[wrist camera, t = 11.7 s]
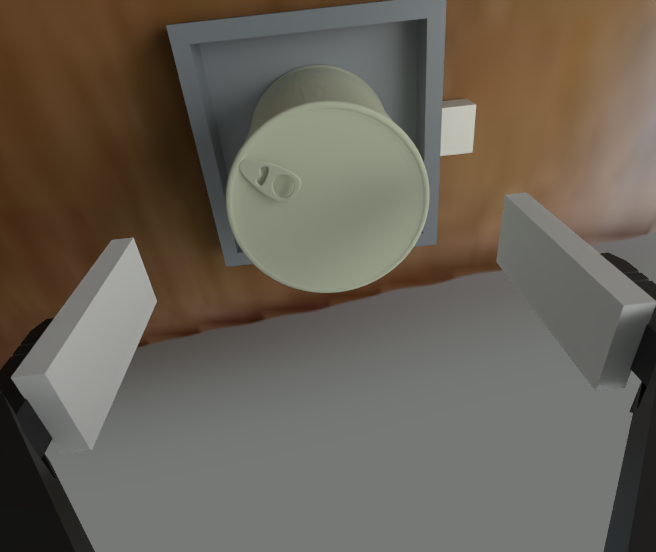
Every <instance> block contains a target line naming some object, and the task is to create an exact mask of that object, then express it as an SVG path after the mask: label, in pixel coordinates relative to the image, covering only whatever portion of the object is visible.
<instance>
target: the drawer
mask: <svg viewBox="0 0 656 552" xmlns="http://www.w3.org/2000/svg"><path fill="white" fill-rule="evenodd" d="M445 22H446V0H385V1H376V2H367V3H358V4H349V5H340V6H330V7H321V8H312V9H303V10H294V11H285V12H276V13H267V14H258V15H249V16H240V17H231V18H222V19H212V20H203V21H194V22H185V23H177V24H171V25H166V27H167V31H168V35H169V39H170V43H171V47H172V51H173V55H174V59H175V64H176V68H177V72H178V76H179V80H180V84H181V88H182V92H183V96H184V100H185V104H186V108H187V112H188V116H189V120H190V124H191V128H192V132H193V136H194V140H195V144H196V148H197V152H198V156H199V160H200V164H201V168H202V172H203V176H204V180H205V184H206V188H207V192H208V196H209V200H210V204H211V208H212V212H213V216H214V220H215V224H216V228H217V232H218V236H219V240H220V244H221V248H222V252H223V256H224V260H225V264H226V267H228V266H238V265H247V264H253V263H252V262H251V261H250V260H249V259H248V258H247V256H246V255H245V254H244V252H243V251H242V250H241V248H240V246H239V245H238V243H237V241H236V239H235V237H234V235H233V233H232V230H231V227H230V224H229V221H228V216H227V211H226V187H227V181H228V176H229V173H230V169H231V166H232V164H233V161H234V159H235V157H236V155H237V153H238V151H239V150H240V148H241V147H242V145H243V144H244V142H245V140H246V138H247V136H248V133H249V131H250V126H251V120H252V116H253V113H254V110H255V108H256V106H257V104H258V102H259V100H260V98H261V97H262V95H263V94H264V93H265V91H266V90H267V89H268V88H269V87H270V85H272V84H273V83H274V82H275V81H276V80H277V79H279V78H280V77H282V76H283V75H285V74H286V73H288V72H290V71H293V70H295V69H298V68H302V67H305V66H312V65H328V66H334V67H338V68H341V69H344V70H347V71H349V72H351V73H353V74H355V75H356V76H358V77H359V78H361V79H362V80H363V81H365V82H366V83H367V84H368V85H369V86H370V87H371V88H372V90H373V91H374V92H375V93H376V95H377V96H378V98H379V99H380V101H381V103H382V105H383V107H384V110H385V112H386V113H387V114H388V116H389V117H390V118H391V119H392V121H393V122H394V123H395V124H397V125H398V126H399V127H400V128H401V129H402V130H403V131H404V132H405V133H406V134H407V135H408V136H409V138H410V139H411V140H412V142H413V143H414V145H415V146H416V148H417V149H418V151H419V153H420V155H421V157H422V160H423V162H424V165H425V168H426V171H427V176H428V181H429V209H428V214H427V218H426V222H425V225H424V228H423V230H422V232H421V234H420V237H419V239H418V240H417V242H416V244H415V245H414V247H416V246H425V245H435V244H437V224H438V199H439V174H440V156H444V155H454V154H463V153H472V152H473V139H474V126H475V113H476V104H474V103H473V102H471V101H469V100H468V99H457V100H448V101H442V98H443V73H444V47H445Z"/></svg>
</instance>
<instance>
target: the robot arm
mask: <svg viewBox="0 0 656 552" xmlns="http://www.w3.org/2000/svg"><path fill="white" fill-rule="evenodd" d="M496 262H497V263H498V265H499V266H500V267H501V268H502V270H503V271H504V272H505V273H506V275H507V276H508V278H509V279H510V280H511V281H512V283H513V284H514V285H515V287H516V288H517V289H518V290H519V292H520V293H521V294H522V296H523V297H524V298H525V300H526V301H527V302H528V304H529V305H530V306H531V307H532V309H533V310H534V311H535V313H536V314H537V315H538V317H539V318H540V319H541V320H542V322H543V323H544V324H545V326H546V327H547V328H548V330H550V332H551V333H552V335H553V336H554V337H555V339H556V340H557V341H558V342H559V344H560V345H561V346H562V348H563V349H564V350H565V352H566V353H567V354H568V356H569V357H570V358H571V359H572V361H573V362H574V363H575V365H576V366H577V367H578V368H579V370H580V371H581V372H582V374H583V375H584V376H585V377H586V379H587V380H588V381H589V383H590V384H591V386H592V387H593V388H594V389H595V391H599V390H608V389H617V388H625V385H626V383H627V380H628V378H629V375H630V372H631V370H632V371H633V372H634V373H635V374H636V375H637V376H638V378H639V379H640V380H641V381H642V382H641V385H640V387H639V389H638V392H637V394H636V397H635V400H634V402H633V404H632V407H631V409H630V412H632V413H633V416H632V421H631V425H630V430H629V435H628V439H627V445H626V449H625V454H624V458H623V464H622V468H621V473H620V477H619V482H618V487H617V491H616V496H615V501H614V505H613V510H612V515H611V520H610V524H609V529H608V534H607V539H606V543H605V548H604V552H656V284H655V283H653V282H652V281H649V279H648V278H647V277H646V276H645V275H643V274H642V273H639V272H638V270H637V269H636V268H634V267H633V266H632V265H631V264H630V263H628V262H627V261H625V260H623V259H621V258H619V257H617V256H614V255H612V254H610V253H602V254H599V253H598V252H597V251H596V250H595V249H593V248H592V247H591V246H590V245H589V244H587V243H586V242H585V241H584V240H583V239H582V238H580V237H579V236H578V235H577V234H576V233H574V232H573V231H572V230H571V229H570V228H568V227H567V226H566V225H565V224H564V223H562V222H561V221H560V220H559V219H558V218H556V217H555V216H554V215H553V214H552V213H551V212H549V211H548V210H547V209H546V208H545V207H543V206H542V205H541V204H540V203H539V202H537V201H536V200H535V199H534V198H533V197H531V196H530V195H529V194H528V193H527V192H526V193H517V194H508V195H505V199H504V207H503V215H502V223H501V230H500V238H499V246H498V254H497V261H496ZM156 302H157V300H156V297H155V294H154V292H153V289H152V286H151V284H150V281H149V278H148V275H147V273H146V270H145V267H144V265H143V262H142V259H141V256H140V254H139V251H138V248H137V246H136V243H135V240H134V238H125V239H116V240H111V242H110V243H109V244H108V246H107V247H106V248H105V250H104V251H103V252H102V254H101V255H100V257H99V258H98V259H97V261H96V262H95V263H94V265H93V266H92V267H91V269H90V270H89V272H88V273H87V274H86V276H85V277H84V278H83V280H82V281H81V282H80V284H79V285H78V287H77V288H76V289H75V291H74V292H73V293H72V295H71V296H70V297H69V299H68V300H67V301H66V303H65V304H64V306H63V307H62V308H61V310H60V311H59V312H58V314H57V315H56V316H55V318H52V319H46V320H45V321H43V322H42V323H41V324H39V325H38V326H37V327H36V328H34V329H33V330H32V331H30V333H29V334H28V335H27V337H26V338H25V339H24V341H23V342H22V343H21V346H19V347H18V348H17V350H16V351H15V352H14V353H13V357H10V359H9V360H8V361H7V362H6V364H5V365H4V366H3V368H2V369H1V370H0V552H95V551H94V549H93V547H92V545H91V543H90V541H89V539H88V537H87V535H86V533H85V531H84V529H83V527H82V525H81V523H80V521H79V519H78V517H77V515H76V513H75V511H74V509H73V507H72V505H71V503H70V501H69V499H68V497H67V495H66V493H65V491H64V489H63V487H62V485H61V483H60V481H59V479H58V477H57V475H56V473H55V471H54V469H53V467H52V465H51V463H50V461H49V459H48V458H47V457H46V455H45V454H44V453H45V451H46V450H47V447H48V446H49V444H50V442H51V440H52V441H53V442H54V444H55V445H56V447H57V448H58V450H59V451H60V453H61V454H70V453H78V452H87V451H91V450H92V448H93V446H94V444H95V441H96V439H97V437H98V435H99V432H100V430H101V428H102V425H103V423H104V421H105V419H106V416H107V414H108V412H109V409H110V407H111V405H112V402H113V400H114V398H115V396H116V393H117V391H118V389H119V387H120V384H121V382H122V380H123V378H124V375H125V373H126V371H127V368H128V366H129V364H130V362H131V359H132V357H133V355H134V353H135V350H136V348H137V346H138V343H139V341H140V339H141V337H142V334H143V332H144V330H145V328H146V325H147V323H148V321H149V318H150V316H151V314H152V312H153V309H154V307H155V305H156Z"/></svg>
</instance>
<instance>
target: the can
mask: <svg viewBox="0 0 656 552" xmlns="http://www.w3.org/2000/svg"><path fill="white" fill-rule="evenodd" d="M428 209H429V181H428V176H427V171H426V168H425V165H424V162H423V160H422V157H421V155H420V153H419V151H418V149H417V148H416V146H415V145H414V143H413V142H412V140H411V139H410V138H409V136H408V135H407V134H406V133H405V132H404V131H403V130H402V129H401V128H400V127H399V126H398V125H397V124H395V123H394V122H393V121H392V119H391V118H390V117H389V116H388V114H387V113H386V112H385V110H384V107H383V105H382V103H381V101H380V99H379V98H378V96H377V95H376V93H375V92H374V91H373V90H372V88H371V87H370V86H369V85H368V84H367V83H366V82H365V81H363V80H362V79H361V78H359V77H358V76H356V75H355V74H353V73H351V72H349V71H347V70H344V69H341V68H338V67H334V66H328V65H312V66H305V67H302V68H298V69H295V70H293V71H290V72H288V73H286V74H285V75H283V76H282V77H280V78H279V79H277V80H276V81H275V82H274V83H273V84H272V85H270V87H269V88H268V89H267V90H266V91H265V93H264V94H263V95H262V97H261V98H260V100H259V102H258V104H257V106H256V108H255V110H254V113H253V116H252V120H251V126H250V131H249V133H248V136H247V138H246V140H245V142H244V144H243V145H242V147H241V148H240V150H239V151H238V153H237V155H236V157H235V159H234V161H233V164H232V166H231V169H230V173H229V176H228V181H227V187H226V211H227V216H228V221H229V224H230V227H231V230H232V233H233V235H234V237H235V239H236V241H237V243H238V245H239V246H240V248H241V250H242V251H243V252H244V254H245V255H246V256H247V258H248V259H249V260H250V261H251V262H252V263H253V264H254V265H255V266H256V267H257V268H258V269H260V270H261V271H262V272H263V273H265V274H266V275H268V276H269V277H271V278H273V279H274V280H276V281H278V282H280V283H282V284H284V285H287V286H290V287H293V288H296V289H300V290H304V291H310V292H319V293H332V292H342V291H347V290H352V289H356V288H359V287H362V286H365V285H367V284H369V283H371V282H374V281H376V280H377V279H379V278H381V277H383V276H384V275H386V274H387V273H389V272H390V271H391V270H393V269H394V268H395V267H396V266H397V265H398V264H399V263H400V262H401V261H403V259H404V258H405V257H406V256H407V255H408V254H409V252H410V251H411V250H412V248H413V247H414V245H415V244H416V242H417V240H418V239H419V237H420V234H421V232H422V230H423V228H424V225H425V222H426V218H427V214H428Z"/></svg>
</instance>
